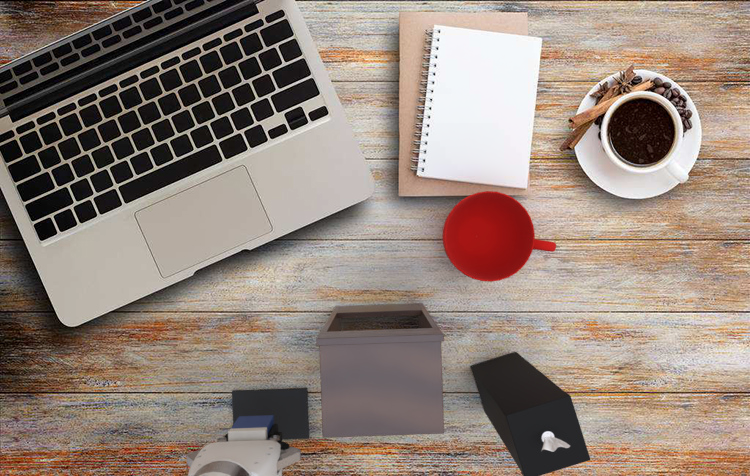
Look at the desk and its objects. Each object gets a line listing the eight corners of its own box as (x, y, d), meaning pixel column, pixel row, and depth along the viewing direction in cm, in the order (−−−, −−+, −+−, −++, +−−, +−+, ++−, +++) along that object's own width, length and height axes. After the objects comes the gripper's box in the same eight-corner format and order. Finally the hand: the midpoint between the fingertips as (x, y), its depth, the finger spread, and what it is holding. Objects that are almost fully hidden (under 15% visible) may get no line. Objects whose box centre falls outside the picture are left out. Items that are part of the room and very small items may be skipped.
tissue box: (469, 365, 88) (512, 425, 60) (516, 350, 88) (581, 403, 60) (484, 411, 88) (533, 493, 60) (530, 397, 87) (602, 472, 59)
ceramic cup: (534, 286, 87) (554, 292, 77) (430, 269, 88) (437, 274, 78) (547, 206, 87) (569, 202, 77) (443, 190, 87) (451, 184, 77)
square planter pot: (425, 377, 88) (447, 443, 60) (338, 380, 88) (319, 448, 60) (422, 303, 88) (443, 334, 60) (335, 306, 88) (315, 338, 60)
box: (275, 449, 78) (266, 467, 72) (240, 450, 78) (229, 469, 72) (273, 414, 78) (265, 430, 72) (238, 416, 78) (227, 431, 72)
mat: (309, 437, 88) (308, 438, 87) (234, 440, 88) (233, 441, 87) (307, 387, 88) (306, 388, 87) (232, 390, 88) (231, 391, 87)
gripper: (143, 535, 59) (197, 463, 78) (299, 529, 59) (317, 459, 78) (140, 466, 59) (195, 410, 77) (296, 461, 59) (315, 406, 77)
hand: (255, 435), depth 77 cm, fingers closed on box, 5 cm apart
